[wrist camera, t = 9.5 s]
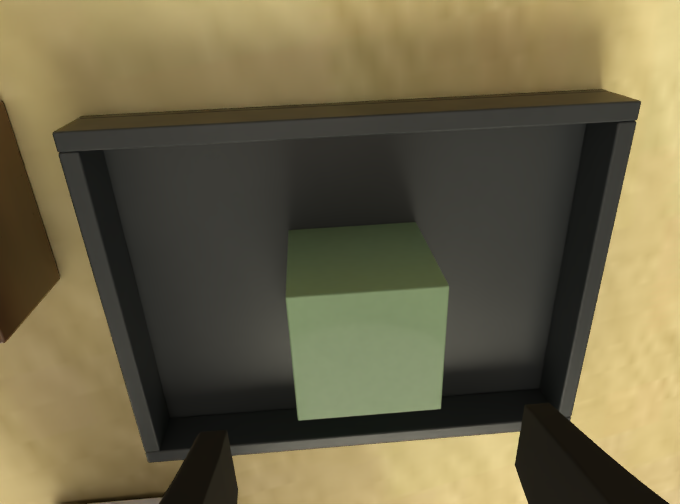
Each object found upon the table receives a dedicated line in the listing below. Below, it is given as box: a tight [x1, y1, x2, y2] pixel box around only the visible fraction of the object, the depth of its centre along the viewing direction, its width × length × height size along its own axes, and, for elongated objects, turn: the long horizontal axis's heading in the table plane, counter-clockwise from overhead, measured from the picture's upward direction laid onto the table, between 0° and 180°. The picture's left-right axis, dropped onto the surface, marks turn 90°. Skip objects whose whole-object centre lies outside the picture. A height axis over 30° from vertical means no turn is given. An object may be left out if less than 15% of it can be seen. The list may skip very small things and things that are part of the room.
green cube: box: [286, 222, 449, 421], centre depth 17 cm, size 5×5×5 cm
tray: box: [53, 89, 641, 463], centre depth 19 cm, size 13×17×2 cm
